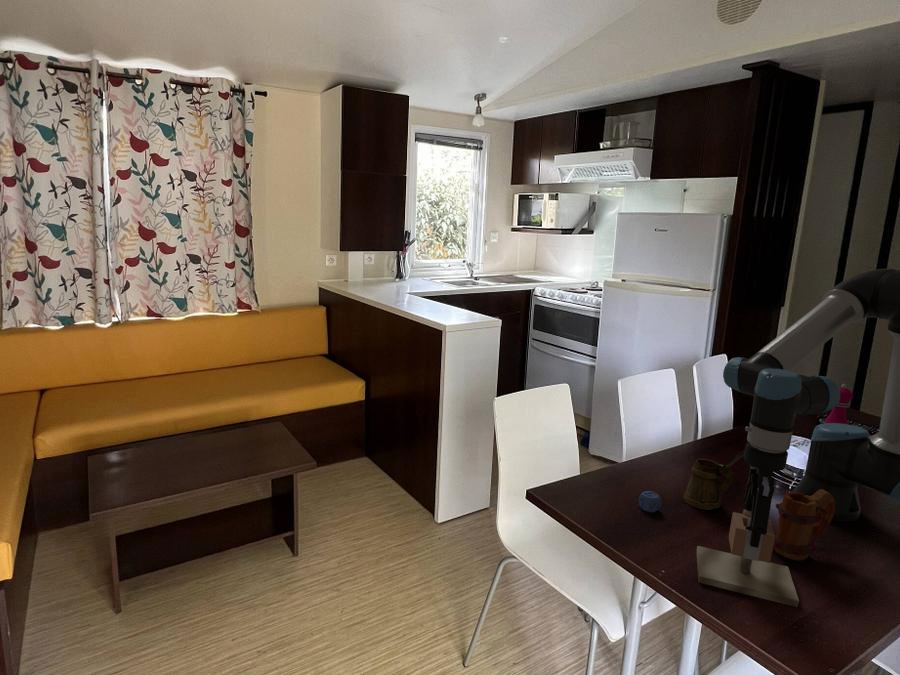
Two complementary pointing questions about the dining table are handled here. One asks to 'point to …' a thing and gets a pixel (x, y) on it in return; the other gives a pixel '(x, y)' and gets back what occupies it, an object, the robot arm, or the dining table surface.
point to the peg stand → (746, 575)
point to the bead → (739, 535)
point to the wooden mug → (708, 483)
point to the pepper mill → (841, 407)
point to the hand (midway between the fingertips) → (748, 548)
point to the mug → (802, 522)
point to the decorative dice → (649, 501)
